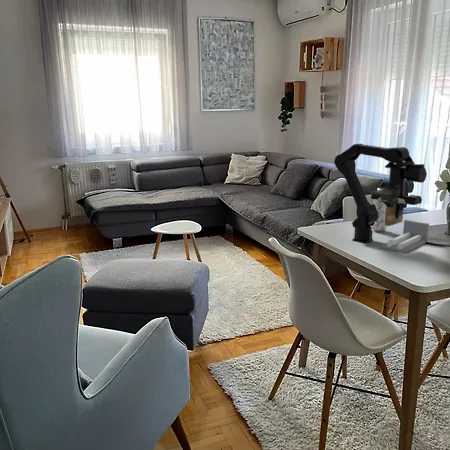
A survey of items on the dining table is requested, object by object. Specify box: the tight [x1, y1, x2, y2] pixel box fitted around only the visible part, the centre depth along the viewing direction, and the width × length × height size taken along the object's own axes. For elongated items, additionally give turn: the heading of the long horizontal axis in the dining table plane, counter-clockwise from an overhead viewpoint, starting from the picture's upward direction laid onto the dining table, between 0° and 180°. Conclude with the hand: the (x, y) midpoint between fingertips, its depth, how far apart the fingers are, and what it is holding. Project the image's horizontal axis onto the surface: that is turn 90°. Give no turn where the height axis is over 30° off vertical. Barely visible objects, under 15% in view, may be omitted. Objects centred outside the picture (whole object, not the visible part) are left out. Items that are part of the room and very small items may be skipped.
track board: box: [381, 219, 430, 254], centre depth 182 cm, size 10×20×8 cm, turn 133°
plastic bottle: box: [371, 187, 388, 233], centre depth 201 cm, size 6×7×20 cm
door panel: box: [385, 204, 404, 227], centre depth 176 cm, size 2×10×7 cm, turn 130°
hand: (394, 218), depth 177 cm, fingers closed on door panel, 2 cm apart
